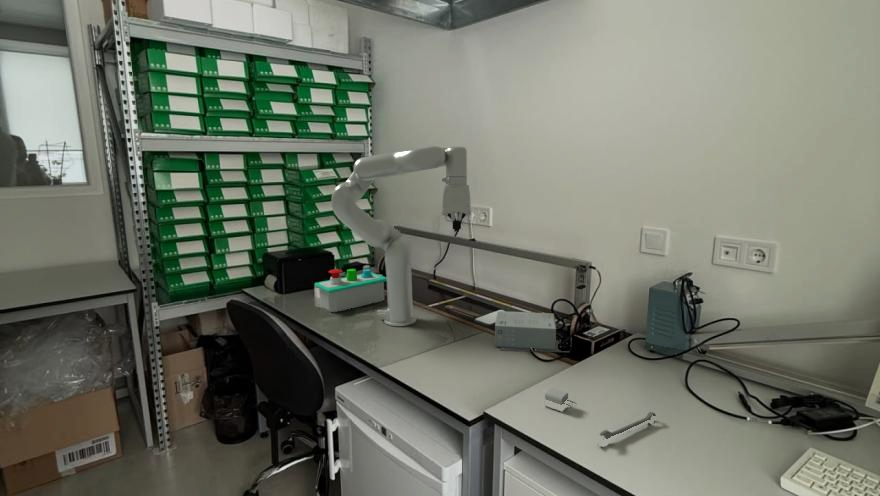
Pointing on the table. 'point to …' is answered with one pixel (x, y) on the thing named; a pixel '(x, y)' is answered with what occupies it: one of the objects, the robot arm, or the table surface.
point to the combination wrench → (609, 434)
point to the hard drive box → (525, 330)
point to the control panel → (351, 290)
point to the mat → (529, 349)
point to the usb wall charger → (557, 396)
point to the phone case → (488, 319)
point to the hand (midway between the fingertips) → (456, 231)
